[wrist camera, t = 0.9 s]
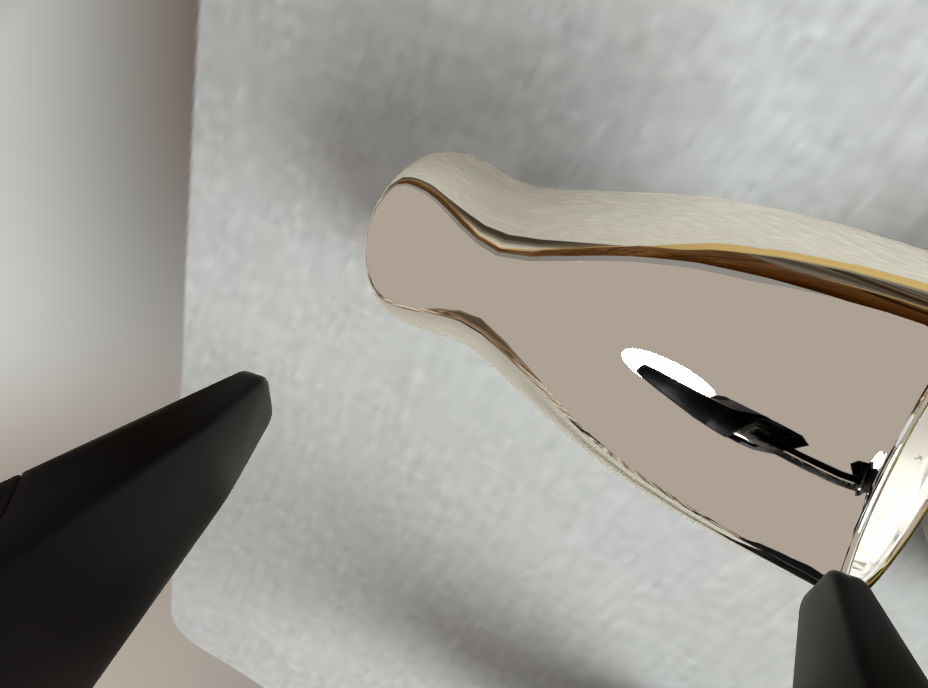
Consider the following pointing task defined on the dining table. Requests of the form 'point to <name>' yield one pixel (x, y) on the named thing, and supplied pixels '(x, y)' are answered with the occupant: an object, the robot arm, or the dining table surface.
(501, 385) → the dining table surface
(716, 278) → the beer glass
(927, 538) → the pan
